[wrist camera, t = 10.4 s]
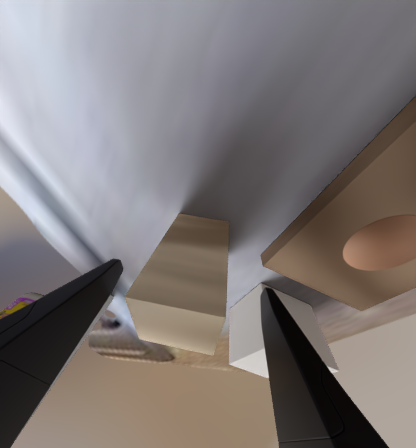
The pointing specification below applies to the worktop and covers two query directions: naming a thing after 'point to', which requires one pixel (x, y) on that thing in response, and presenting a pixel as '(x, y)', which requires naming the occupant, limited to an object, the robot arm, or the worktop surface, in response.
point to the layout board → (359, 225)
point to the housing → (253, 338)
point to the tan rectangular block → (184, 286)
